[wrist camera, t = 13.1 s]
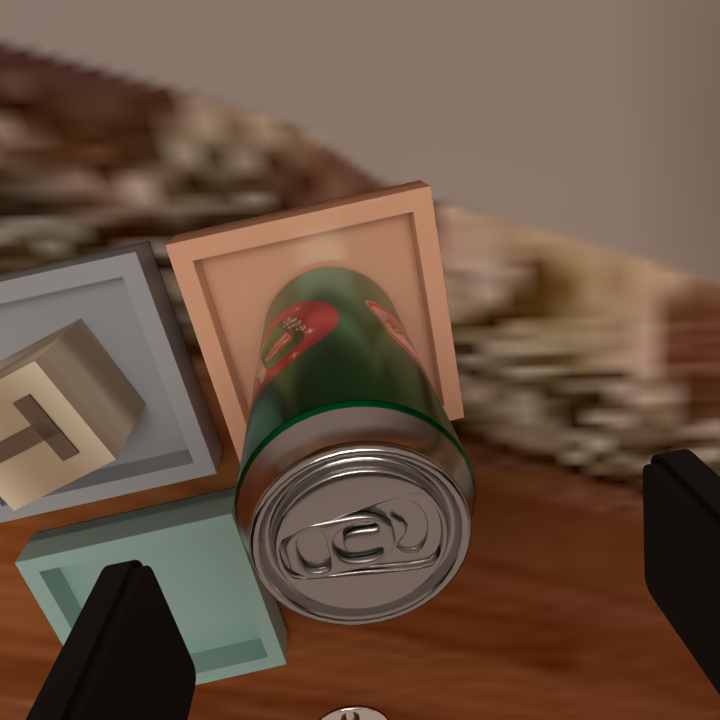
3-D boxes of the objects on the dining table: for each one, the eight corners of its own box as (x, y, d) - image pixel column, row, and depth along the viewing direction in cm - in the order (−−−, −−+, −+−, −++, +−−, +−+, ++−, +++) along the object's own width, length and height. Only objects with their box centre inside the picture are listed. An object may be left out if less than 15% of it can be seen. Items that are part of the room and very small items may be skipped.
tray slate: (148, 240, 21) (135, 251, 19) (222, 449, 24) (216, 473, 23) (-98, 295, 21) (-133, 311, 19) (13, 496, 24) (-8, 524, 23)
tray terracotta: (420, 180, 21) (430, 185, 19) (453, 396, 24) (464, 417, 23) (176, 234, 21) (165, 245, 19) (245, 444, 24) (241, 467, 23)
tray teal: (235, 487, 25) (231, 513, 23) (287, 632, 29) (286, 664, 27) (33, 533, 25) (14, 562, 23) (110, 673, 29) (99, 707, 27)
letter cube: (81, 317, 21) (33, 362, 17) (146, 403, 22) (114, 461, 19) (-11, 366, 21) (-77, 420, 18) (60, 447, 23) (12, 512, 19)
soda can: (405, 374, 23) (502, 612, 12) (281, 400, 23) (264, 662, 12) (385, 251, 21) (478, 402, 10) (249, 279, 21) (193, 462, 10)
